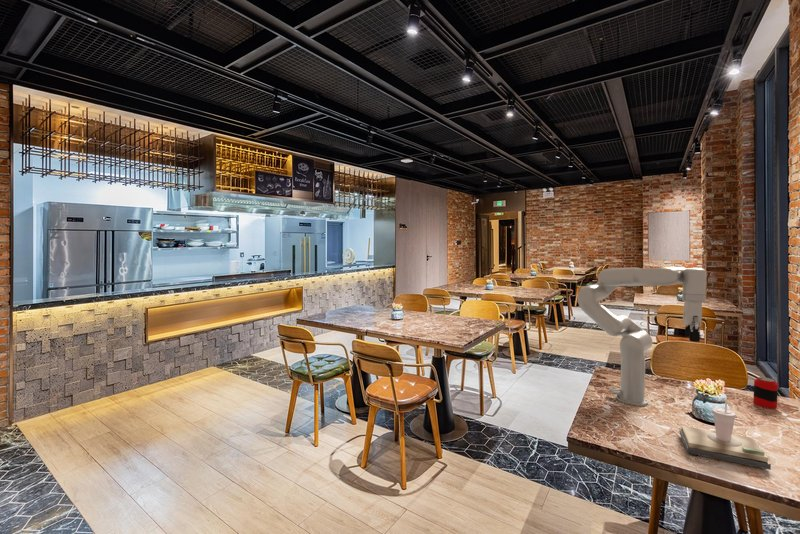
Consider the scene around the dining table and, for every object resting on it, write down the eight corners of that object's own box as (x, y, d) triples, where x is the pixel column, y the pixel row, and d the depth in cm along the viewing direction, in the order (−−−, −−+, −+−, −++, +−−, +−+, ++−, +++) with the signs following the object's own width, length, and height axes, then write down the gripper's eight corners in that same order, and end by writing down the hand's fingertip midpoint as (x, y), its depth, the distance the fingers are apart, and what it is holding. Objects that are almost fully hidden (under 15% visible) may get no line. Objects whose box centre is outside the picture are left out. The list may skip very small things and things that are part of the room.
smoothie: (740, 444, 125) (741, 403, 124) (718, 442, 126) (719, 402, 126) (727, 435, 131) (728, 396, 131) (707, 433, 133) (707, 395, 132)
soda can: (751, 400, 172) (752, 375, 171) (773, 404, 168) (774, 378, 167) (756, 406, 165) (757, 380, 164) (779, 410, 161) (780, 383, 161)
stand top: (688, 447, 127) (689, 440, 127) (681, 429, 139) (681, 423, 139) (768, 462, 117) (768, 454, 117) (752, 442, 129) (752, 435, 129)
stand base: (687, 455, 127) (687, 447, 127) (679, 435, 140) (679, 428, 140) (770, 472, 117) (770, 464, 117) (753, 450, 130) (753, 442, 130)
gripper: (678, 295, 162) (677, 333, 163) (686, 299, 147) (684, 342, 148) (700, 296, 159) (699, 335, 160) (710, 301, 144) (708, 344, 144)
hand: (692, 338), depth 154 cm, fingers open, 9 cm apart
